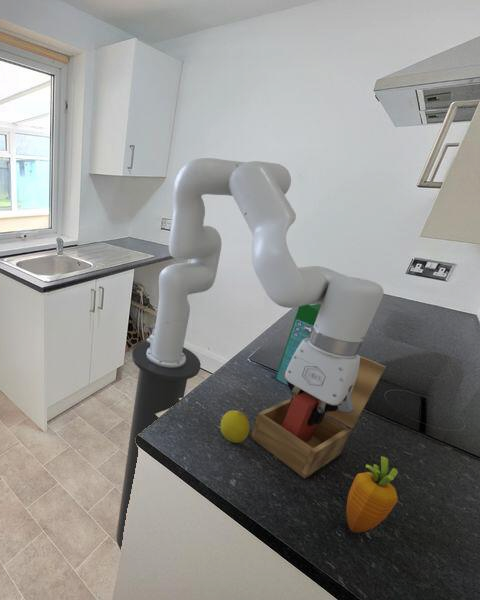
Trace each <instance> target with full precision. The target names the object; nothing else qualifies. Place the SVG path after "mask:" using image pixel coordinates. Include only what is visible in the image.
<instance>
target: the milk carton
mask: <svg viewBox="0 0 480 600" xmlns="http://www.w3.org/2000/svg"><path fill="white" fill-rule="evenodd" d="M320 307H321V304H308V305H304V306H300V307H297V310H296V315H295V317H294V320H293V323H292V327H291V329H290V332H289V336H288V338H287V341H286V344H285V347H284V351H283V353H282V357H281V359H280V363H279V366H278V368H277V371H276V374H275V379H276V380H278V381H280V382H281V383H283V384H285V385H286V386H288V384H287V382H286V381H285V380H284V379H283V377H282V376H281V373H282V372H283V371H285V370H286V369H287V368H288V365H289V363H290V361H291V359H292V357H293V355H294V353H295V352H296V350H297V348H298V346H299V345H300V343H301V342H302V340H303V339H304V338H308V336H309V333H308V332H306V331H304V328H305V326H306V325H309V326H314V324H315V321H316V318H317V316H318V313H319V310H320Z"/></svg>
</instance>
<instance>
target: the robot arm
mask: <svg viewBox="0 0 480 600" xmlns="http://www.w3.org/2000/svg"><path fill="white" fill-rule="evenodd" d="M291 183H292V177H291V174H290V171H289V170H288V169H287V167H285V166H284V165H282V164H280V163H275V162H268V161H260V160H253V161H236V160H230V159H229V160H228V159H221V158H215V157H214V158H213V157H202V158H201V157H199V158H196V159H192V160H190V161H188V162H187V163H185V164H184V165H183V166H182V167H181V168H180V170H179V171H178V173H177V174H176V176H175V180H174V183H173V193H172V194H173V196H172V197H173V198H172V199H173V205H172V206H173V210H172V217H171V223H170V231H169V239H168V252H169V255H170V256H171V257H172V258H173V259H176V260H183V261H184V260H190V262H179V263H173V264H170V265H169V264H168V266H166V267H164V268H163V269H162V270H161V272H160V273H159V277H158V291H159V292H158V293H159V294H158V305H157V313H156V320H155V327H154V333H153V334H150V335H149V337H148V338H146V342H149V343H150V348H148V349H147V353H146V355H147V358H148V359H149V360H150V361H151V362H153V363H155V364H157V365H159V366H163V367H168V368H176V367H180V366H182V365H184V364H185V362H186V356H185V355H184V354H183V353H182V351H183V347H184V346H185V340H186V335H187V329H188V324H189V320H190V312H191V306H190V302H189V299H188V295H193V294H198V293H199V294H200V293H204V292H206V291H208V290H210V289H211V288H212V287H213V286H214V283H215V281H216V278H217V273H218V267H219V262H220V258H221V251H222V238H221V234H220V232H219V231H218V230H217V229H216V228H215V227H213V226H211V225H204V221H205V216H206V206H205V203H204V202H205V201H204V199H203V198H202V197H203V196H205V195H211V196H230V197H232V198H233V200H234V201H235V203H236V205H237V207H238V209H239V211H240V213H241V215H242V217H243V219H244V220H245V222H246V225H247V226H248V228H249V230H250V232H251V234H252V241H251V262H252V266H253V269H254V272H255V275H256V277H257V279H258V281H259V283H260V284H261V286H262V288H263V290H264V292H265V294H266V295H267V296H268V297H269V299H270V300H271V301H272V302H273V303H274V304H276V305H278V306H279V307H282V308H287V309H293V308H299V307H300V306H304V305H308V304H321V307H320V310H319V313H318V316H317V318H316V321H315V324H314V326H309V325H306V326H305V328H304V331H306V332H308V333H309V336H308V338H304V339H303V340H302V342H301V343H300V345H299V346H298V348H297V350H296V352H295V353H294V355H293V357H292V359H291V361H290V363H289V365H288V368H287V369H286V370H285V371H283V372H282V373H281V376H282V377H283V379H284V380H285V381H286V382H287V384H288V385H287V384H286V385H287V386H288V388H289V390H290V396H291V398H292V399H293V397H295V396H297V395H299V394H301V393H303V392H307V393H309V394H310V395H312V396H314V397H316V398H317V399H319V402H318V406H317V407H316V408H315V409H313V411H312V413H311V415H310V418H309V420H308V423H307V424H308V425H309V426H312V425H314V424H316V423H317V424H320V423H321V422H322V420H323V417H324V415H326V412H330V411H339V412H345V413H350V412H352V411H353V410H354V409H353V404H352V400H351V395H350V394H351V392H352V390H353V387H354V384H355V381H356V378H357V374H358V369H359V364H360V356H361V355H359V354H358V353H359V351H360V349H361V347H362V344H363V341H364V340H365V337H366V335H367V332H368V330H369V328H370V326H371V324H372V322H373V319H374V318H375V315H376V312H377V310H378V309H379V307H380V306H379V305H380V304H381V301H382V299H383V296H384V287H382V286H381V284H379V283H377V282H375V281H373V280H369V279H366V278H360V277H354V276H348V275H345V274H343V273H340V272H338V271H335V270H333V269H330V268H327V267H324V266H320V265H309V266H302V267H301V266H300V267H298V265H297V264H296V261H295V260H294V258H293V256H292V254H291V253H290V250H289V248H288V247H289V246H288V243H287V233H288V230H289V229H290V227H291V226H292V225H293V224H294V223H295V221H296V219H297V215H296V212H295V210H294V208H293V207H292V205H291V203H290V202H289V200H288V199H287V197H286V194H287V193H288V191H289V190H290V188H291V186H292V185H291ZM292 399H291V401H290V404H291V402H292ZM290 404H289V407H290Z"/></svg>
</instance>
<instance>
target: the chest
mask: <svg viewBox="0 0 480 600" xmlns="http://www.w3.org/2000/svg"><path fill="white" fill-rule="evenodd" d="M291 399H292V397H290V398H288V399H286V400H283V401H281V402H279V403H277V404H274V405H273V406H270V407H268V408H267V409H264V410H262V411H260V412H258V413H257V415H256V418H255V421H254V424H253V429H252V430H251V431H252V432H251V434H250V438H251V439H252V440H254V441H255V442H256V443H257V444H258V445H260V446H261V447H263V448H264V449H265V450H267V451H268V452H269V453H270V454H272V455H273V456H274V457H275V458H277V459H278V460H279V461H281V462H282V463H283V464H285V465H286V466H288V467H289V468H290V469H291V470H293V471H294V472H296V474H298V475H299V476H300V477H302V478H303V479H307V478H308V477H309V476H311V475H312V474H314V473H315V472H317V471H318V470H320V469H321V468H322V467H324V466H326V465H327V464H329V463H330V462H332V461H333V460H334V459H336V458H337V457H339V456H340V455H341V454H342V452H343V449H344V447H345V445H346V443H347V441H348V439H349V436H350V434H351V433H352V428H350V427H348V426H347V425H345V424H343V423H341V422H340V421H338V420H336V419H335V418H333V417H331V416H329V415H328V414H325V415H324V417H323V420H322V422H321V423H320V424H317V427H316V429H315V431H314V434H313V436H312V438H311V440H309V441H308V442H306V443H305V442H304V441H302V440H301V439H299V438H298V437H296V436H295V435H294V434H292V433H291V432H289V431H288V430H286V429H285V428H283V427H282V425H283V423H284V420H285V417H286V415H287V412H288V410H289V404H290V401H291Z"/></svg>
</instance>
